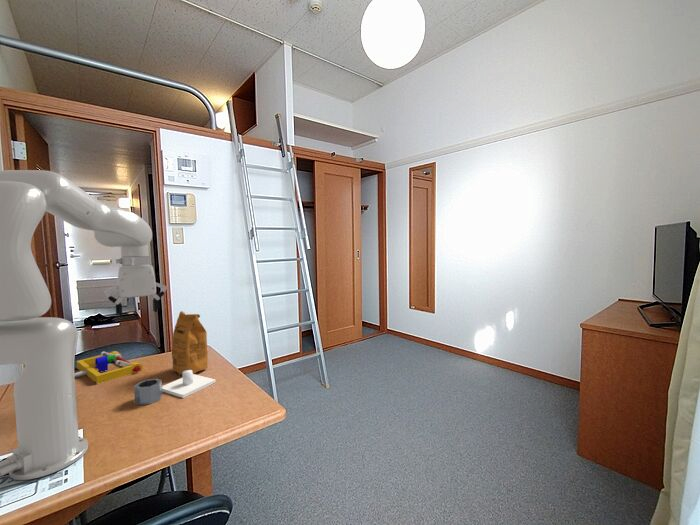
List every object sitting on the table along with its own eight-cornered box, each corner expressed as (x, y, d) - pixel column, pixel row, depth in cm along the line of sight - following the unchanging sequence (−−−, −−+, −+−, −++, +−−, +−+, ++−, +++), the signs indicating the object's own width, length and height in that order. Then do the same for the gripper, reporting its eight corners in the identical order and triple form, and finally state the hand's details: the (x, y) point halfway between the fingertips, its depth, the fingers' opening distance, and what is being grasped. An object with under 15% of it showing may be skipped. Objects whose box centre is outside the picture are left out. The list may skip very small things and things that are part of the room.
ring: (144, 406, 92) (143, 390, 91) (131, 402, 94) (130, 385, 94) (166, 396, 97) (165, 381, 97) (153, 392, 100) (152, 377, 100)
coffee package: (194, 362, 126) (191, 308, 124) (211, 369, 119) (209, 311, 117) (168, 371, 118) (165, 313, 116) (185, 378, 111) (182, 317, 109)
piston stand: (183, 398, 96) (182, 382, 96) (159, 390, 102) (158, 375, 101) (215, 382, 107) (215, 368, 107) (192, 376, 112) (191, 362, 112)
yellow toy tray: (114, 342, 135) (143, 356, 117) (115, 356, 135) (144, 372, 118) (57, 354, 120) (80, 373, 103) (58, 370, 121) (81, 391, 103)
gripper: (103, 263, 94) (106, 320, 95) (168, 261, 106) (170, 311, 107) (101, 262, 100) (104, 316, 101) (163, 260, 111) (165, 308, 112)
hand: (138, 313), depth 104 cm, fingers open, 9 cm apart
